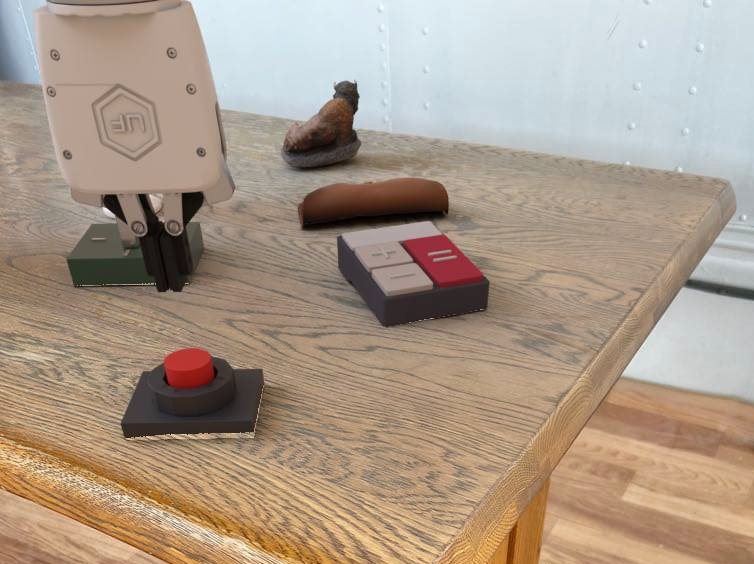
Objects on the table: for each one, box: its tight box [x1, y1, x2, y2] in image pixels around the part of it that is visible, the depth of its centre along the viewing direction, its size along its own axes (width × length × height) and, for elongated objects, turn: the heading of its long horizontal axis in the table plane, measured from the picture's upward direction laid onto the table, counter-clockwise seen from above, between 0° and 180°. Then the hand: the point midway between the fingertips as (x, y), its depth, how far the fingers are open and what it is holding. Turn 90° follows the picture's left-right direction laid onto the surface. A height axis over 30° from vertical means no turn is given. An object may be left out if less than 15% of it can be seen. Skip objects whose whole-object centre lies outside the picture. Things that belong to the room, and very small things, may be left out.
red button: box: [163, 347, 215, 389], centre depth 63 cm, size 4×4×2 cm
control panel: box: [66, 221, 205, 287], centre depth 87 cm, size 12×10×3 cm
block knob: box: [115, 216, 140, 248], centre depth 84 cm, size 5×2×4 cm, turn 1°
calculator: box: [336, 220, 490, 328], centre depth 82 cm, size 11×4×15 cm
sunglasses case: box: [297, 177, 450, 229], centre depth 98 cm, size 18×7×7 cm
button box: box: [120, 355, 265, 439], centre depth 64 cm, size 10×8×4 cm
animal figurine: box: [279, 79, 362, 168], centre depth 112 cm, size 12×7×10 cm, turn 117°
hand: (173, 284), depth 58 cm, fingers closed
